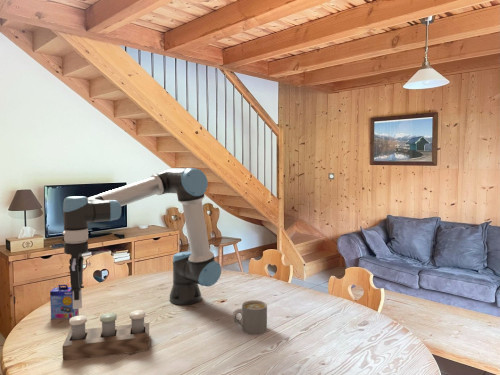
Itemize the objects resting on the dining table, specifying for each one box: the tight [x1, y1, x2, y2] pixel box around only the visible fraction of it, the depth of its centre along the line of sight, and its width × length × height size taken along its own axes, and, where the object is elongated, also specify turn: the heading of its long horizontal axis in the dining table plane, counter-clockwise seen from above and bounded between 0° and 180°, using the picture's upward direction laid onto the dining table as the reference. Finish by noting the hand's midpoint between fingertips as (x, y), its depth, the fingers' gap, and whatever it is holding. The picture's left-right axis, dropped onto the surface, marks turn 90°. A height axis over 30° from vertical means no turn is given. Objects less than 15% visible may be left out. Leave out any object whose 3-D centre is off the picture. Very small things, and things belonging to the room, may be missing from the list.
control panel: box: [61, 322, 150, 361], centre depth 136 cm, size 28×12×5 cm, turn 105°
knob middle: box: [99, 312, 118, 337], centre depth 136 cm, size 6×6×7 cm
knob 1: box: [68, 314, 88, 340], centre depth 133 cm, size 6×6×7 cm
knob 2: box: [129, 309, 147, 334], centre depth 138 cm, size 6×6×7 cm
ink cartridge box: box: [49, 284, 80, 320], centre depth 162 cm, size 10×6×14 cm, turn 95°
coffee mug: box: [232, 299, 268, 336], centre depth 151 cm, size 13×10×10 cm
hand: (77, 307), depth 132 cm, fingers closed
